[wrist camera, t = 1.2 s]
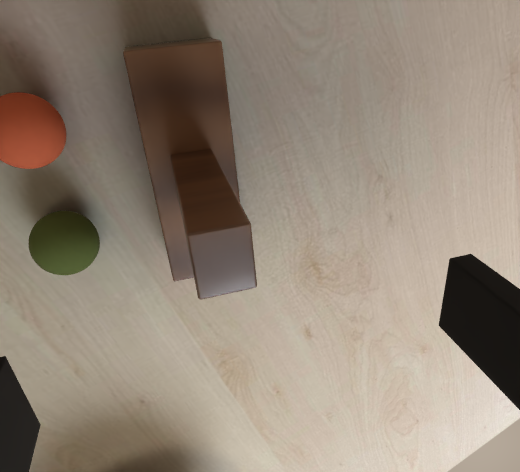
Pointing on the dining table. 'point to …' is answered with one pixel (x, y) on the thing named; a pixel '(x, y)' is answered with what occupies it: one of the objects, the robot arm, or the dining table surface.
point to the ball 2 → (64, 242)
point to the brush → (193, 162)
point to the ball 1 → (29, 131)
